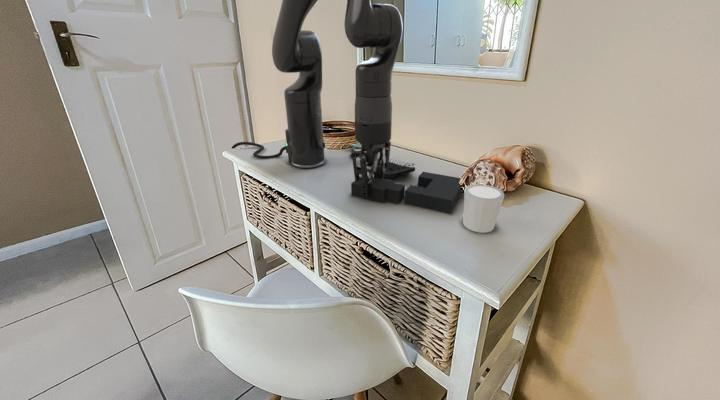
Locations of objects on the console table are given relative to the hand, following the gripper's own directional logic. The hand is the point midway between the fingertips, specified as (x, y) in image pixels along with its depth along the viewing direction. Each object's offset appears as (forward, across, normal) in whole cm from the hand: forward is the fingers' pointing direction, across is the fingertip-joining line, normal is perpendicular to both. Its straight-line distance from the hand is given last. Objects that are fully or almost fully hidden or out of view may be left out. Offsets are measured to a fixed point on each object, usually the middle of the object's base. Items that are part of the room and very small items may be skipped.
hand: (372, 192), depth 75 cm
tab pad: (0, 0, +1) cm, 2 cm away
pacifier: (+1, -27, -17) cm, 32 cm away
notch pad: (+1, -5, +13) cm, 14 cm away
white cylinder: (+1, +3, +24) cm, 24 cm away
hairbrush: (+1, -16, -6) cm, 17 cm away
